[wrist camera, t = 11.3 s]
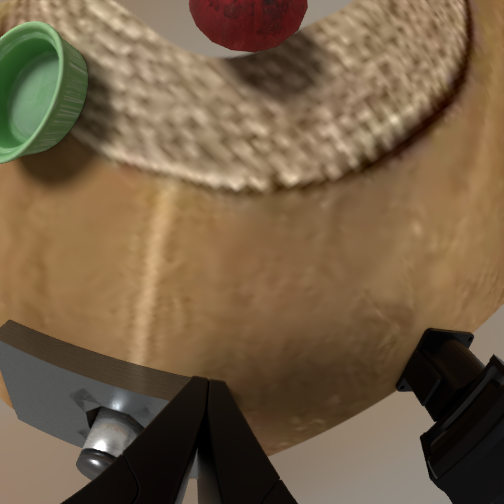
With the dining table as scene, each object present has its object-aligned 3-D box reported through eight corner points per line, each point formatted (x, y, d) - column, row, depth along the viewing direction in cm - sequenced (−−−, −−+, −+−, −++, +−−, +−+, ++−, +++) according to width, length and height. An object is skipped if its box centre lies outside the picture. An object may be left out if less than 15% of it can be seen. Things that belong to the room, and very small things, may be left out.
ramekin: (25, 39, 13) (-9, 26, 9) (116, 42, 14) (88, 18, 10) (-8, 149, 16) (-46, 153, 12) (74, 171, 17) (36, 177, 13)
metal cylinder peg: (148, 397, 22) (125, 471, 15) (148, 425, 23) (129, 493, 16) (104, 384, 22) (71, 452, 14) (107, 413, 23) (81, 477, 15)
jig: (225, 384, 22) (224, 411, 19) (206, 456, 25) (204, 479, 22) (9, 319, 20) (-9, 335, 17) (30, 401, 23) (18, 419, 20)
